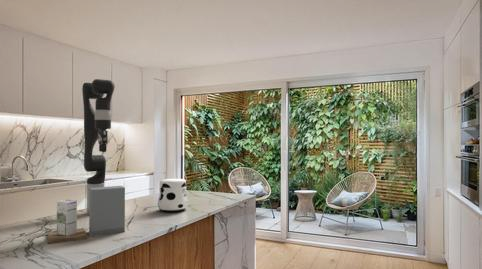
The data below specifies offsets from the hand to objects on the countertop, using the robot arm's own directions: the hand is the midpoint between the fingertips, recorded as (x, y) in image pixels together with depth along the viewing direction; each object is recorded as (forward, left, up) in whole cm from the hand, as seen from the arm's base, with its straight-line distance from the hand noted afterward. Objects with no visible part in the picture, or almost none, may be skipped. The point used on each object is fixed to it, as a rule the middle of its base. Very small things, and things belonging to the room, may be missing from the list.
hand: (102, 151), depth 165 cm
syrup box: (+16, -16, -35) cm, 42 cm away
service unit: (+16, 0, -36) cm, 39 cm away
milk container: (-14, +41, -36) cm, 57 cm away
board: (+16, -16, -36) cm, 43 cm away
